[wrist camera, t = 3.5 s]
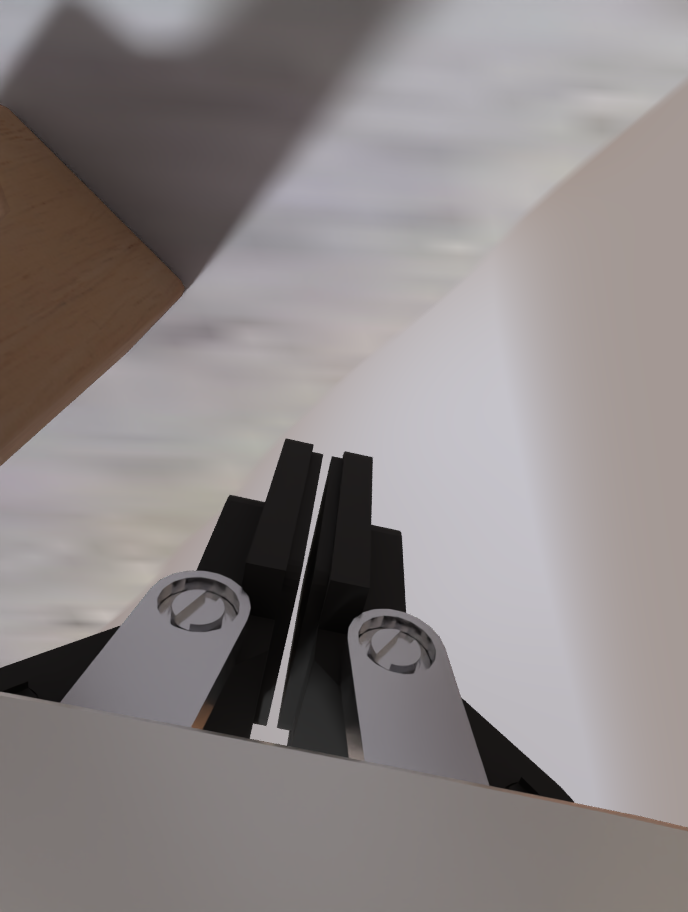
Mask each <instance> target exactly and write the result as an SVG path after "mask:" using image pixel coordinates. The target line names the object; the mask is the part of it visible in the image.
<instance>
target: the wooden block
mask: <svg viewBox="0 0 688 912" xmlns="http://www.w3.org/2000/svg"><path fill="white" fill-rule="evenodd" d="M184 289H185V288H184V286H183V284H182V282H181V280H180V279H179V278H178V277H177V276H176V275H175V274H174V273H173V272H172V271H171V270H170V269H169V268H168V267H167V266H166V265H165V264H164V263H163V262H162V261H161V260H160V259H159V258H158V257H157V256H156V255H155V254H154V253H153V252H152V251H151V250H150V249H149V248H148V247H147V246H146V245H145V244H144V243H143V242H142V241H141V240H140V239H139V238H138V237H137V236H136V235H135V234H134V233H133V232H132V231H131V230H130V229H129V228H128V227H127V226H126V225H125V224H124V223H123V222H122V221H121V220H120V219H119V218H118V217H117V216H116V215H115V214H114V213H113V212H112V211H111V210H110V209H109V208H108V207H107V206H106V205H105V204H104V203H103V202H102V201H101V200H100V199H99V198H98V197H97V196H96V195H95V194H94V193H93V192H92V191H91V190H90V189H89V188H88V187H87V186H86V185H85V184H84V183H83V182H82V181H81V180H80V179H79V178H78V177H77V176H76V175H75V174H74V173H73V172H72V171H71V170H70V169H69V168H68V167H67V166H66V165H65V164H64V163H63V162H62V161H61V160H60V159H59V158H58V157H57V156H56V155H55V154H54V153H52V152H51V151H50V150H49V149H48V148H47V147H46V146H45V145H44V144H43V143H42V142H41V141H40V140H39V139H38V138H37V137H36V136H35V135H34V134H33V133H32V132H31V131H30V130H29V129H28V128H27V127H26V126H25V125H24V124H23V123H22V122H21V121H20V120H19V119H18V118H17V117H16V116H15V115H14V114H13V113H12V112H11V111H10V110H9V109H8V108H6V107H4V106H2V105H0V466H1V465H2V464H3V463H4V462H5V461H7V460H8V459H9V458H10V457H11V456H12V455H13V454H14V453H16V452H17V451H18V450H19V449H20V448H21V447H22V446H23V445H24V444H26V443H27V442H28V441H29V440H30V439H31V438H32V437H33V436H35V435H36V434H37V433H38V432H39V431H40V430H41V429H42V428H43V427H45V426H46V425H47V424H48V423H49V422H50V421H51V420H52V419H53V418H55V417H56V416H57V415H58V414H59V413H60V412H61V411H62V410H64V409H65V408H66V407H67V406H68V405H69V404H70V403H71V402H72V401H74V400H75V399H76V398H77V397H78V396H79V395H80V394H81V393H82V392H84V391H85V390H86V389H87V388H88V387H89V386H90V385H91V384H93V383H94V382H95V381H96V380H97V379H98V378H99V377H100V376H102V375H103V374H104V373H105V372H106V371H107V370H108V369H109V368H111V367H112V366H113V365H114V364H115V363H116V362H117V361H118V360H119V359H121V358H122V357H123V356H124V355H125V354H126V353H127V352H128V351H129V350H130V349H131V348H132V347H133V346H134V345H135V344H136V343H137V342H138V341H139V340H140V339H141V338H142V336H143V335H144V334H145V333H146V332H147V331H148V330H149V329H150V328H151V327H152V326H153V325H154V324H155V323H156V322H157V321H158V320H159V319H160V318H161V317H162V316H163V315H164V314H165V313H166V312H167V311H168V310H169V308H170V307H171V306H172V305H173V304H174V303H175V302H176V301H177V300H178V299H179V298H180V297H181V296H182V294H183V292H184Z"/></svg>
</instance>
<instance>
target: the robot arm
mask: <svg viewBox="0 0 688 912" xmlns="http://www.w3.org/2000/svg"><path fill="white" fill-rule="evenodd" d="M312 450H313V444H309V443H304V442H300V441H295V440H290V439H285V442H284V445H283V448H282V451H281V455H280V458H279V461H278V464H277V467H276V470H275V473H274V476H273V480H272V483H271V486H270V489H269V492H268V495H267V498H266V501H265V502H261V501H257V500H251V499H247V498H242V497H238V496H233V495H229V497H228V499H227V501H226V503H225V505H224V508H223V510H222V512H221V515H220V517H219V519H218V522H217V524H216V526H215V529H214V531H213V533H212V536H211V538H210V540H209V543H208V545H207V547H206V549H205V552H204V554H203V557H202V559H201V561H200V563H199V566H198V568H197V570H196V571H184V572H179V573H175V574H172V575H169V576H167V577H165V578H163V579H161V580H159V581H158V582H157V583H156V584H155V585H154V586H153V587H152V588H151V589H150V590H149V591H148V592H147V594H146V595H145V596H144V597H143V599H142V600H141V601H140V602H139V604H138V605H137V606H136V607H135V609H134V610H133V611H132V612H131V614H130V615H129V616H128V618H127V619H126V620H125V621H124V623H123V624H122V625H121V626H118V627H115V628H112V629H110V630H107V631H104V632H101V633H98V634H95V635H92V636H90V637H87V638H84V639H81V640H78V641H75V642H73V643H70V644H67V645H64V646H61V647H58V648H56V649H53V650H50V651H47V652H44V653H41V654H39V655H36V656H33V657H30V658H27V659H24V660H22V661H19V662H16V663H13V664H10V665H7V666H4V667H2V668H0V912H688V827H683V826H679V825H675V824H671V823H667V822H663V821H658V820H654V819H650V818H646V817H642V816H637V815H632V814H627V813H621V812H617V811H612V810H607V809H602V808H597V807H592V806H587V805H583V804H578V803H574V801H573V800H572V799H571V798H570V797H569V796H568V795H567V794H566V792H565V791H564V790H563V789H562V788H561V787H560V786H559V785H558V784H557V783H556V782H555V781H553V780H552V779H551V778H550V777H549V776H548V775H547V774H546V773H545V772H543V771H542V770H541V769H540V768H539V767H538V766H537V765H536V764H535V763H533V762H532V761H531V760H530V759H529V758H528V757H527V756H526V755H524V754H523V753H522V752H521V751H520V750H519V749H518V748H517V747H516V746H514V745H513V744H512V743H511V742H510V741H509V740H508V739H507V738H506V737H505V736H503V735H502V734H501V733H500V732H499V731H498V730H497V729H496V728H494V727H493V726H492V725H491V724H490V723H489V722H488V721H487V720H486V719H484V718H483V717H482V716H481V715H480V714H479V713H478V712H477V711H476V710H474V709H473V708H472V707H471V706H470V705H469V704H468V703H467V702H466V701H465V700H463V699H462V698H461V695H460V693H459V689H458V686H457V683H456V680H455V677H454V674H453V671H452V667H451V664H450V661H449V658H448V655H447V652H446V649H445V647H444V645H443V643H442V641H441V639H440V637H439V636H438V635H437V634H436V632H435V631H434V630H433V629H432V628H431V627H430V626H428V625H427V624H426V623H424V622H423V621H421V620H420V619H418V618H416V617H414V616H412V615H410V614H407V613H406V605H405V604H406V603H405V586H404V569H403V549H402V535H401V532H400V531H398V530H393V529H388V528H384V527H379V526H374V525H371V506H372V464H373V458H372V457H368V456H364V455H359V454H354V453H350V452H344V454H343V458H338V457H332V459H331V462H330V466H329V471H328V476H327V480H326V484H325V488H324V492H323V496H322V501H321V505H320V510H319V514H318V518H317V522H316V527H315V531H314V535H313V539H312V544H311V548H310V552H309V557H308V562H307V565H306V570H305V574H304V579H303V584H302V589H301V595H300V600H299V606H298V612H297V617H296V623H295V629H294V634H293V640H292V646H291V651H290V657H289V663H288V668H287V674H286V680H285V685H284V692H283V697H282V703H281V708H280V713H279V719H278V725H277V728H280V729H285V730H290V731H289V737H288V744H287V746H285V745H280V744H274V743H269V742H264V741H259V740H254V739H250V734H251V730H252V725H253V723H254V724H259V725H264V726H266V725H267V721H268V717H269V712H270V708H271V704H272V699H273V695H274V691H275V686H276V682H277V678H278V673H279V669H280V665H281V660H282V656H283V651H284V647H285V643H286V638H287V634H288V629H289V625H290V621H291V616H292V612H293V608H294V604H295V599H296V595H297V590H298V586H299V581H300V576H301V572H302V567H303V561H304V556H305V551H306V545H307V540H308V534H309V529H310V523H311V518H312V512H313V507H314V501H315V496H316V491H317V485H318V480H319V474H320V469H321V463H322V458H323V454H319V453H315V452H312Z"/></svg>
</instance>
